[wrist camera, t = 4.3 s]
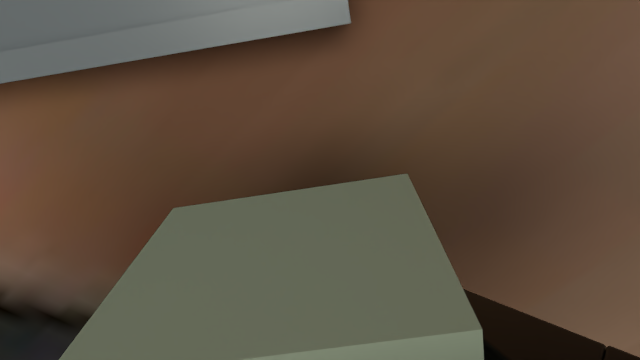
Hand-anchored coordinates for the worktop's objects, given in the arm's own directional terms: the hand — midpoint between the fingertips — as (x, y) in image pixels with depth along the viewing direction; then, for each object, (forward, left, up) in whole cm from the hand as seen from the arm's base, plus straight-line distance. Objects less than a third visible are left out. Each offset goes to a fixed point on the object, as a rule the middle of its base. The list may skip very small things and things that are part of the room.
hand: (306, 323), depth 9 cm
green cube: (0, 0, -1) cm, 1 cm away
